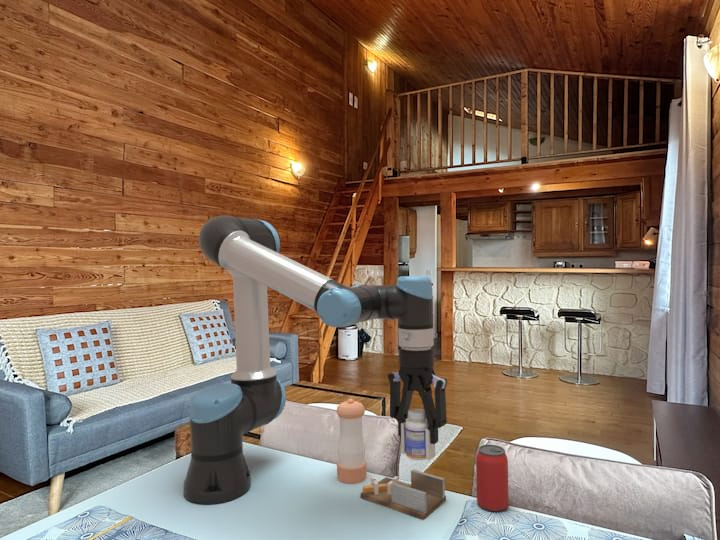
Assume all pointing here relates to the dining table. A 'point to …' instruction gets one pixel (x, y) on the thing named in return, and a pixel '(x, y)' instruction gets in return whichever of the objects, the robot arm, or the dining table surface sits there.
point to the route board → (386, 500)
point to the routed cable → (379, 486)
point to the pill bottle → (416, 434)
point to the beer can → (492, 478)
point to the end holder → (418, 491)
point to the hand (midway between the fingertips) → (418, 454)
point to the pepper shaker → (351, 443)
